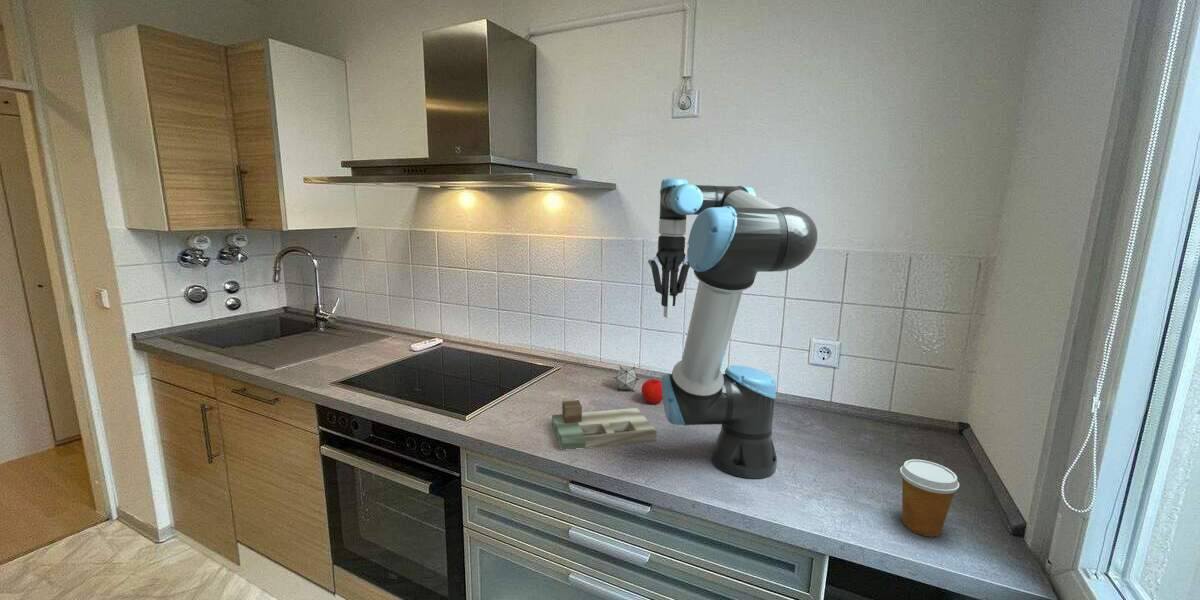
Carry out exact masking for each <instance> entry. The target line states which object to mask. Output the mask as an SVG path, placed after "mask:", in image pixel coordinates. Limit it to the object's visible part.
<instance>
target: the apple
mask: <svg viewBox="0 0 1200 600" xmlns="http://www.w3.org/2000/svg"><path fill="white" fill-rule="evenodd" d="M640 390H641V395H642V396H643V398H644V400H645V401H646V402H648V404H653V405H658V404H659V403H662V402H663V398H662V380H659V379H654V378H652V379H648V380H646V381H645V382H644V383H643V384H642V386H641V389H640Z"/></svg>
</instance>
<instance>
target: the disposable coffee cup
mask: <svg viewBox="0 0 1200 600" xmlns="http://www.w3.org/2000/svg"><path fill="white" fill-rule="evenodd" d="M899 472H900V474H901V477H902V478H901V485H902V487H901V492H902V493H901V494H902V497H901V499H902V500H901V502H902V505H901V507H902V509H901V511H902V513H901V515H902V520H901V521H902V524H903V525H905V526H906V527H905V526H904V527H905V528H906V529H908V530H909V529H910V530H909V531H911V532H912V531H913V532H912V533H915V534H917V533H918V534H917V535H919V534H921V535H920V536H922V535H924V536H923V537H927V536H929V538H935V537H934V536H936V537H939V536H940V535H941V532H942V529H943V526H944V524H945V521H946V519H947V516H948V515H947V514H948V512H949V511H950V506H951V504H952V500H953V498H954V496H955V492H956V491H958V489H959V487H960V482H959V481H958V476H957V474H956V473H955V472H953V471H952V470H951V469H950V468H948V467H946V466H944V465H941V464H939V463H936V462H933V461H930V460H924V459H909V460H906V461H904V463H903V465H902V466H901V467H900V469H899Z"/></svg>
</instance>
